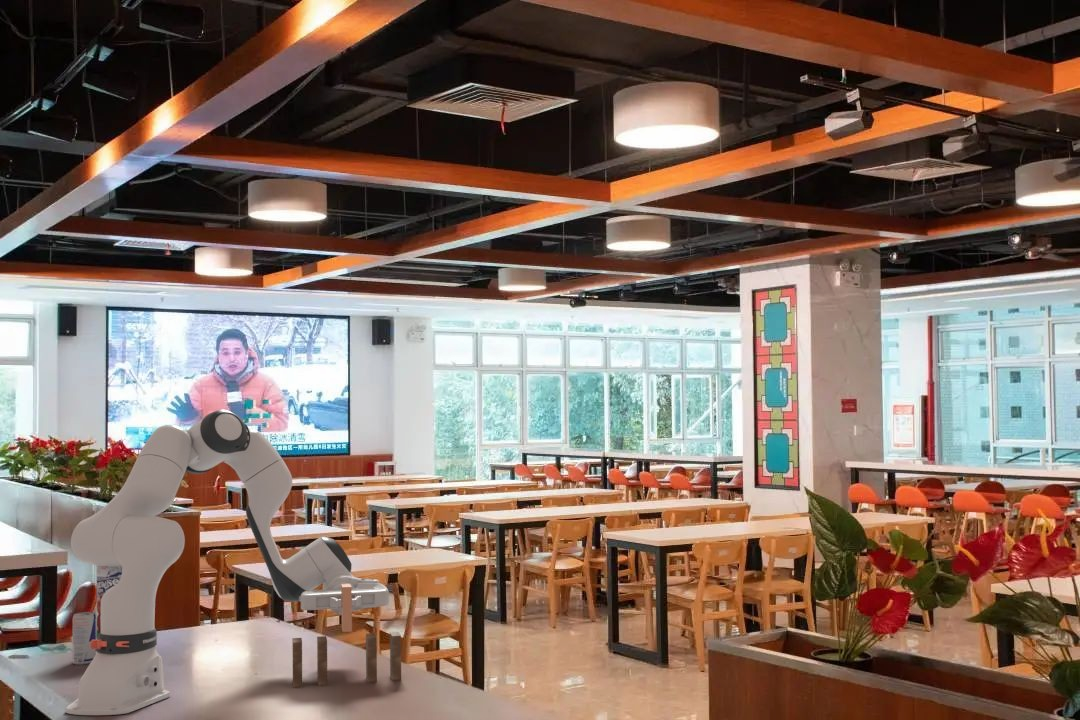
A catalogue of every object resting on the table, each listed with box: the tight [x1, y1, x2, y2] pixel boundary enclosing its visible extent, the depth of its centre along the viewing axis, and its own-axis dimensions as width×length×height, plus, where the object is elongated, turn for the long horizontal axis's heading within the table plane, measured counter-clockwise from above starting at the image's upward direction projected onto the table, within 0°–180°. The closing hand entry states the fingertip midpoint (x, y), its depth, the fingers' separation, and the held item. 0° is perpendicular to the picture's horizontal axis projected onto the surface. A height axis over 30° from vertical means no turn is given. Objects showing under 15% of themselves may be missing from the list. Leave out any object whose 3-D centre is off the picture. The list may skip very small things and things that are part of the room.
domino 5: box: [389, 631, 402, 682], centre depth 257 cm, size 2×5×10 cm, turn 14°
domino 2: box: [316, 635, 328, 687], centre depth 253 cm, size 2×5×10 cm, turn 13°
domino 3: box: [341, 584, 353, 633], centre depth 255 cm, size 2×5×10 cm, turn 14°
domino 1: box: [291, 637, 303, 689], centre depth 252 cm, size 2×5×10 cm, turn 14°
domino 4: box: [365, 632, 378, 683], centre depth 256 cm, size 2×5×10 cm, turn 14°
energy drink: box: [72, 611, 97, 666], centre depth 279 cm, size 5×5×12 cm
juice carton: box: [96, 566, 122, 640], centre depth 291 cm, size 9×10×27 cm
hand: (346, 603), depth 254 cm, fingers closed on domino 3, 2 cm apart
